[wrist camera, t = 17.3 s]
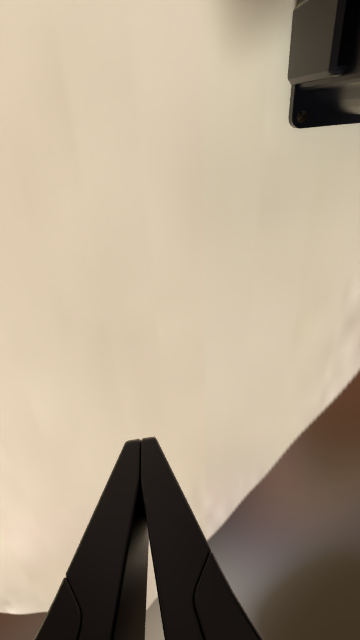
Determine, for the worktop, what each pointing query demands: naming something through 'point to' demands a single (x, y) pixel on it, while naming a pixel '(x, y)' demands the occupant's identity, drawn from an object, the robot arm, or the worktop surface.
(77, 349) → the worktop surface
